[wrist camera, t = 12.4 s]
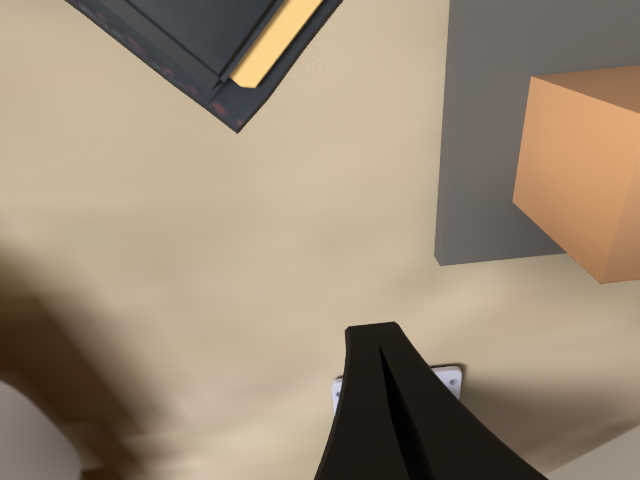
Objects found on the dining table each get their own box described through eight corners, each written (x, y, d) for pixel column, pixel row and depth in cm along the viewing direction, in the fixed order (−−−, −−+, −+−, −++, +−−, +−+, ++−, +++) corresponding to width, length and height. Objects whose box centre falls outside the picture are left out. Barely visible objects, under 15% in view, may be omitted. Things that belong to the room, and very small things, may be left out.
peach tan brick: (629, 189, 20) (763, 265, 15) (512, 201, 20) (600, 283, 15) (667, 62, 18) (849, 95, 12) (531, 75, 18) (648, 116, 12)
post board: (658, 232, 23) (767, 302, 18) (434, 255, 23) (478, 333, 18) (753, -36, 17) (958, -47, 12) (450, -8, 17) (524, -7, 12)
